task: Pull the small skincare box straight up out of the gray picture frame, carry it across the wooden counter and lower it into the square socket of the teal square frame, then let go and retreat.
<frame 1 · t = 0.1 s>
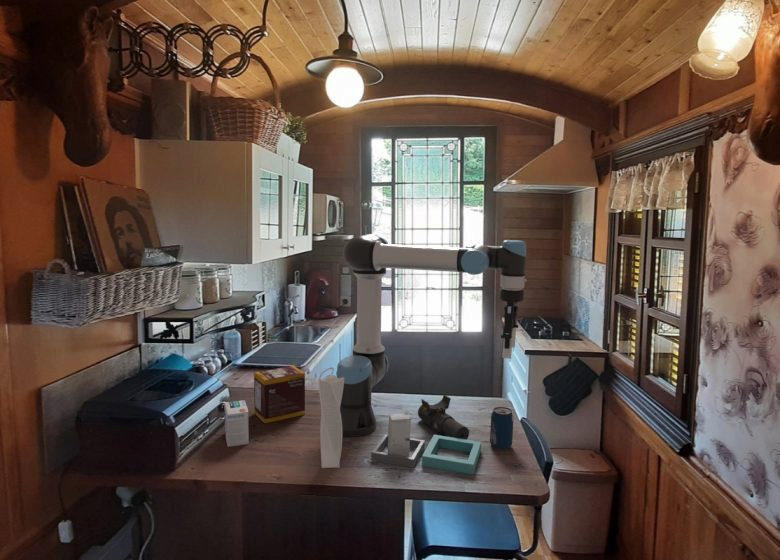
hand: (508, 352, 171), 28 cm above the counter, tool pointing down, fingers open, 13 cm apart
skyscraper: (331, 463, 153), on the counter
teal square frame: (452, 458, 157), on the counter
supplement box: (280, 414, 187), on the counter
gray picture frame: (398, 453, 159), on the counter
soda can: (500, 446, 165), on the counter
laser sight: (441, 431, 176), on the counter
light bulb box: (236, 439, 167), on the counter
skincare box: (398, 454, 159), resting in gray picture frame
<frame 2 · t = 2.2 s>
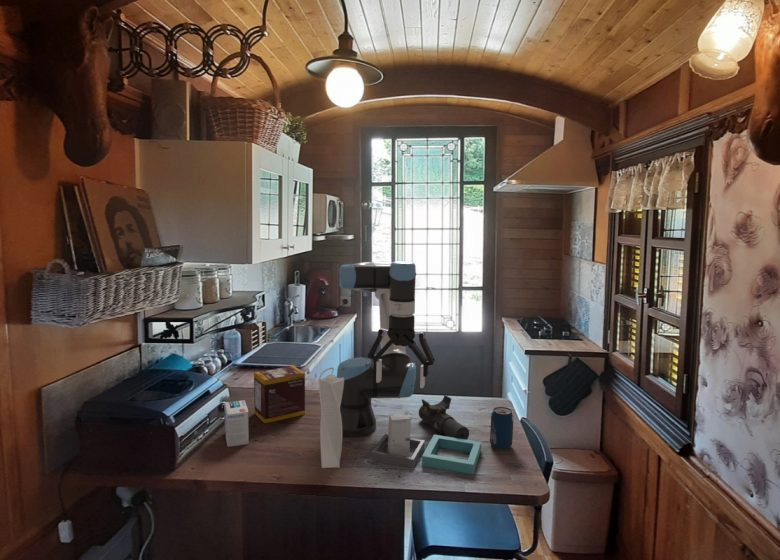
hand: (400, 384, 156), 22 cm above the counter, tool pointing down, fingers open, 13 cm apart
nothing on the counter moved.
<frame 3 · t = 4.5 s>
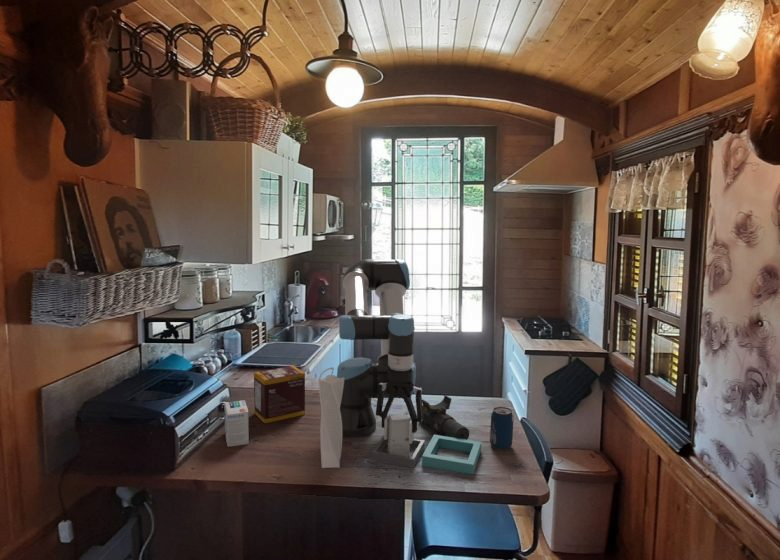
hand: (398, 439, 158), 5 cm above the counter, tool pointing down, fingers closed on skincare box, 7 cm apart
skincare box: (398, 454, 159), resting in gray picture frame, touching gripper
everything else where it was.
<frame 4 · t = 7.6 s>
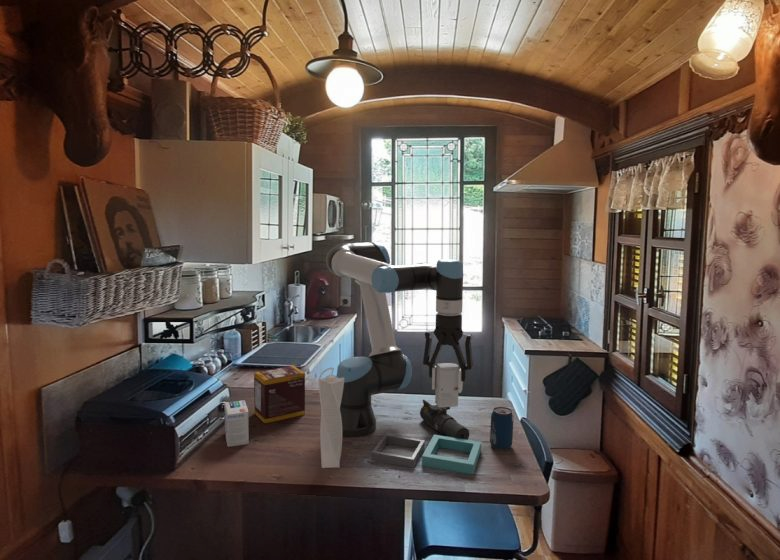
hand: (447, 389, 153), 22 cm above the counter, tool pointing down, fingers closed on skincare box, 7 cm apart
skincare box: (446, 405, 154), point 17 cm above the counter, touching gripper
everything else where it was.
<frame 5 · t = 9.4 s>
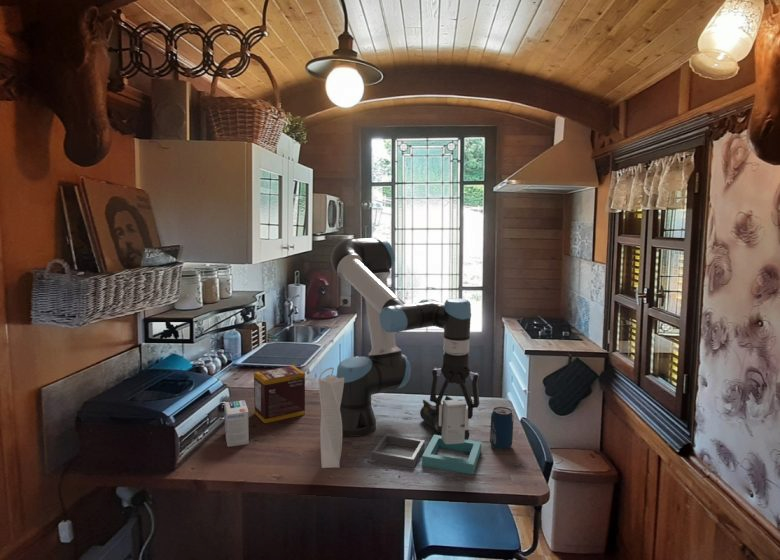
hand: (453, 426, 155), 10 cm above the counter, tool pointing down, fingers closed on skincare box, 7 cm apart
skincare box: (453, 441, 156), point 5 cm above the counter, touching gripper
everything else where it was.
when the fingers open (6 cm above the counter, at t = 11.0 s): skincare box drops 1 cm, resting in teal square frame.
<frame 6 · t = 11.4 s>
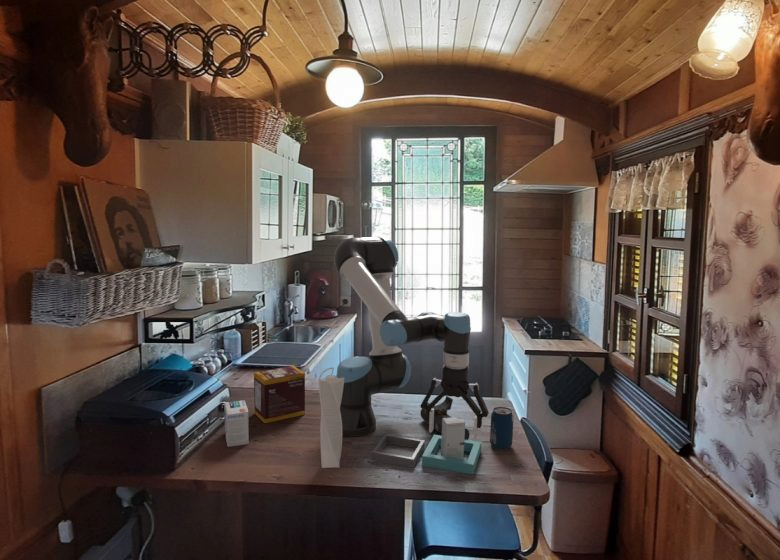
hand: (453, 434, 156), 8 cm above the counter, tool pointing down, fingers open, 13 cm apart
skincare box: (452, 458, 157), resting in teal square frame
everything else where it was.
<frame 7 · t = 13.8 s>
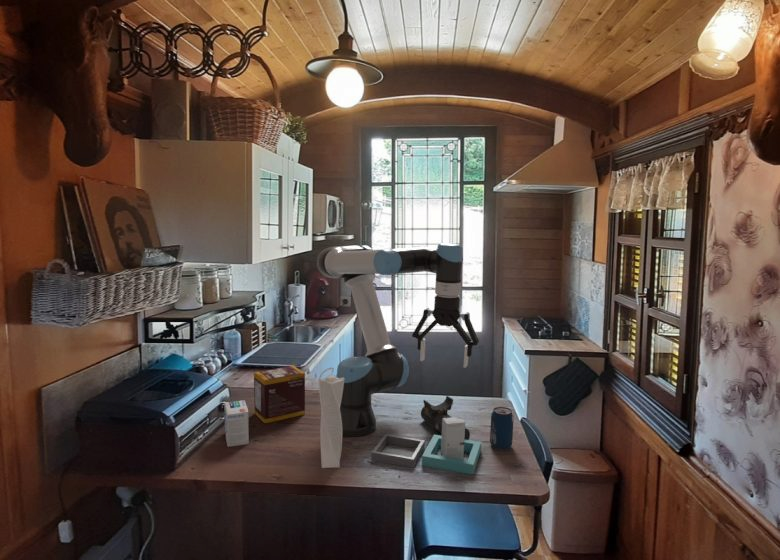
hand: (443, 363, 160), 27 cm above the counter, tool pointing down, fingers open, 13 cm apart
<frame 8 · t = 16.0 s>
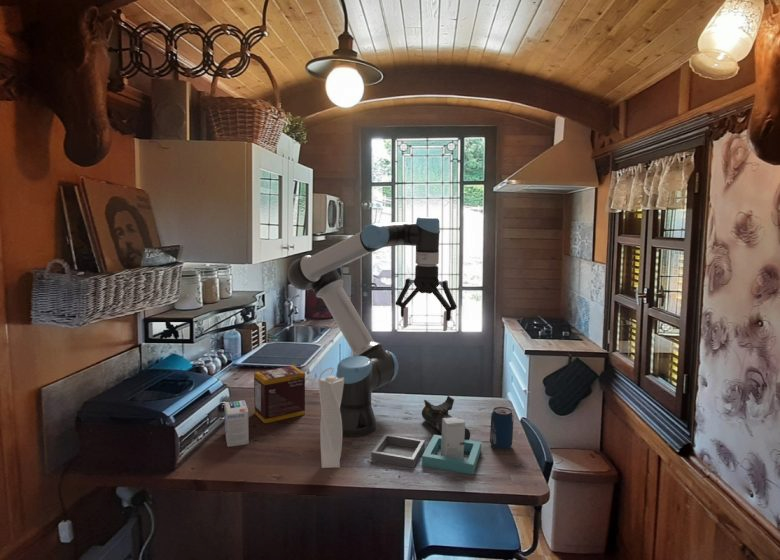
hand: (425, 328, 173), 35 cm above the counter, tool pointing down, fingers open, 13 cm apart
at the end: skincare box 0.0 cm off-centre on the teal square frame, point 0.0 cm above the teal square frame's base; skincare box tilted 0°; the gripper is holding nothing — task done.
